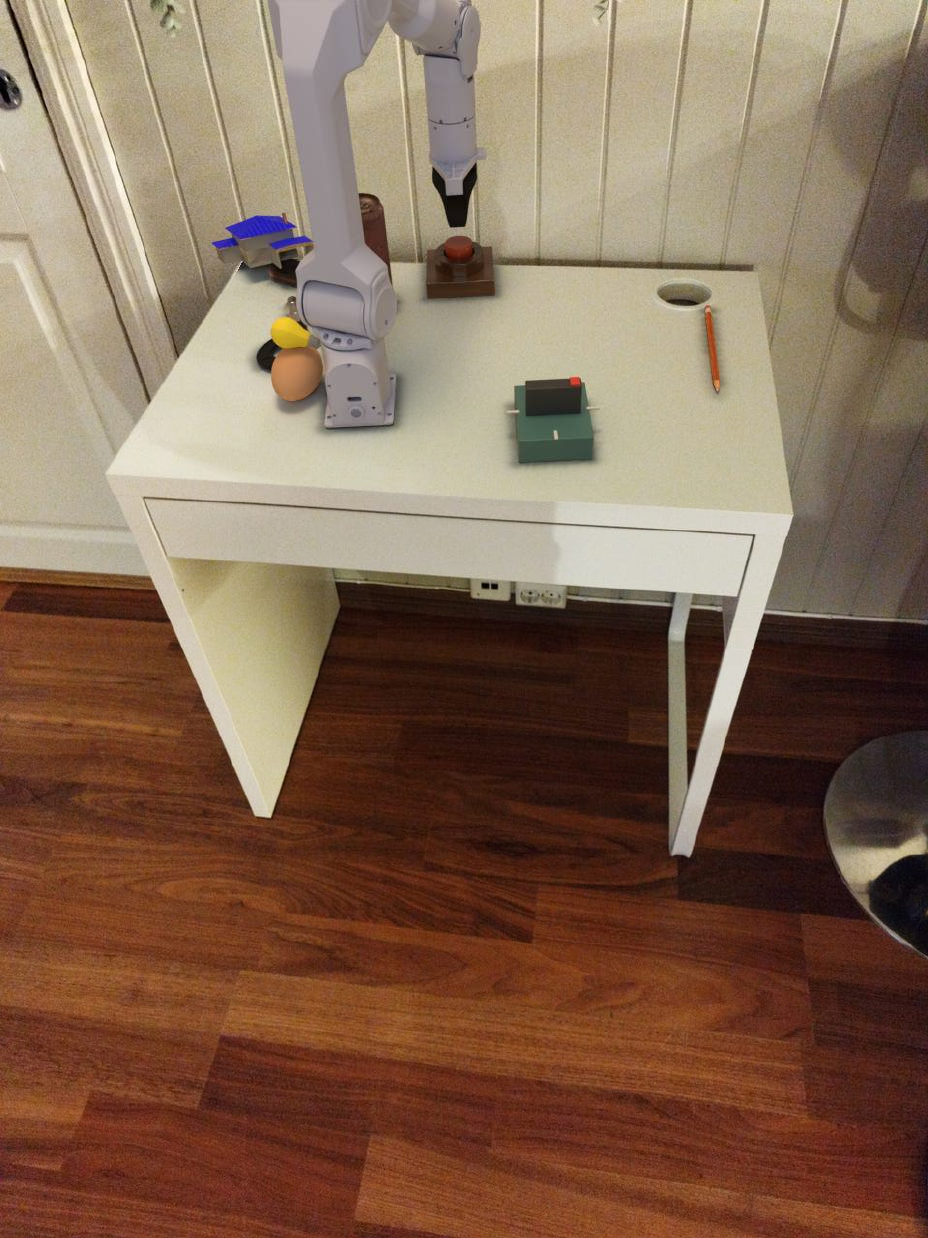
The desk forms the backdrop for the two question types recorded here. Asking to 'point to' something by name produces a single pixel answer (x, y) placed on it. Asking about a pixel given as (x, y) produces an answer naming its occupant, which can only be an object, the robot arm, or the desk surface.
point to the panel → (553, 432)
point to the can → (375, 227)
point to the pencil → (712, 347)
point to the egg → (296, 372)
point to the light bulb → (292, 335)
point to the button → (458, 247)
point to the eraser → (285, 271)
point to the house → (261, 242)
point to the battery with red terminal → (553, 396)
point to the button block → (460, 273)
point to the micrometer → (270, 346)
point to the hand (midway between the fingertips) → (457, 224)
